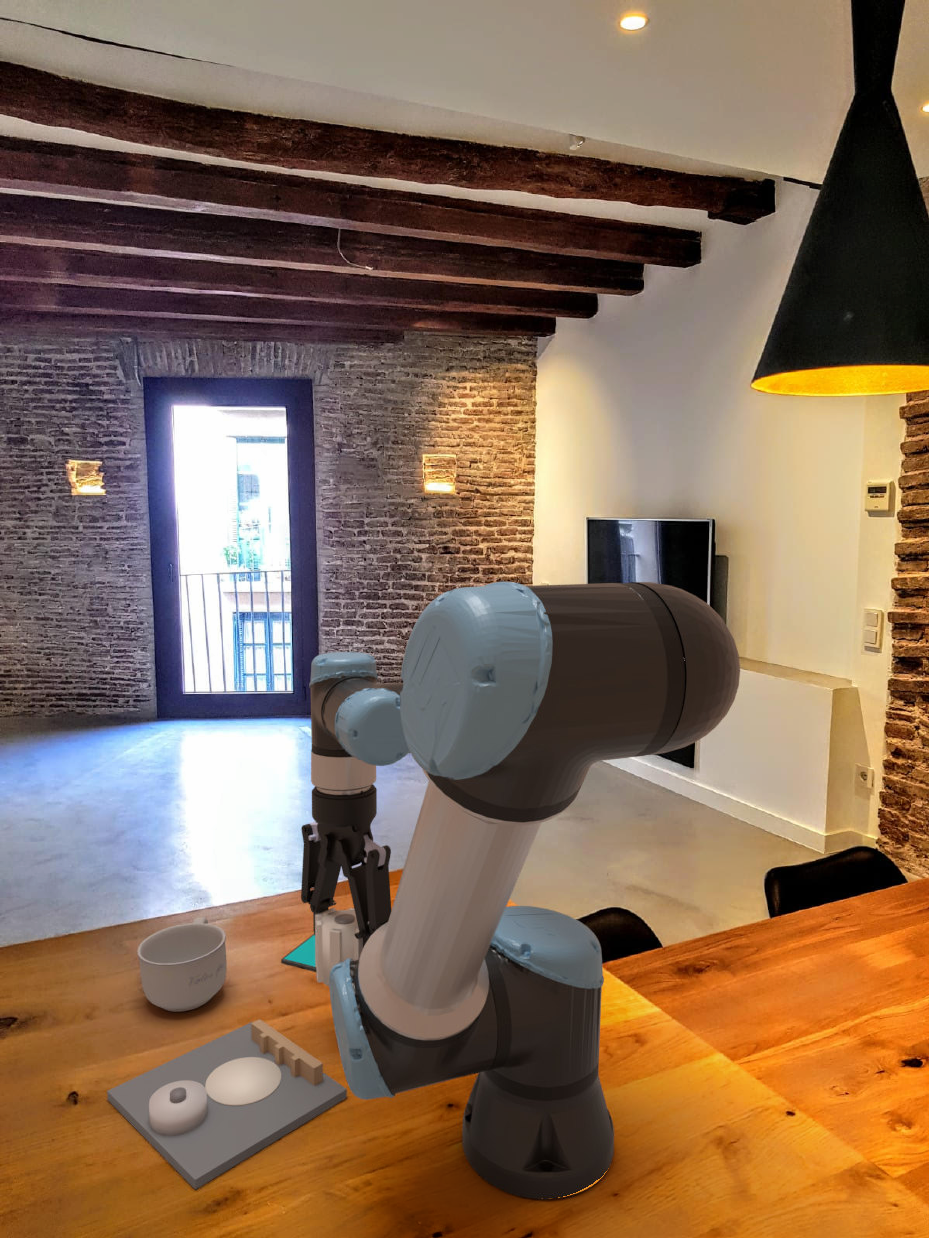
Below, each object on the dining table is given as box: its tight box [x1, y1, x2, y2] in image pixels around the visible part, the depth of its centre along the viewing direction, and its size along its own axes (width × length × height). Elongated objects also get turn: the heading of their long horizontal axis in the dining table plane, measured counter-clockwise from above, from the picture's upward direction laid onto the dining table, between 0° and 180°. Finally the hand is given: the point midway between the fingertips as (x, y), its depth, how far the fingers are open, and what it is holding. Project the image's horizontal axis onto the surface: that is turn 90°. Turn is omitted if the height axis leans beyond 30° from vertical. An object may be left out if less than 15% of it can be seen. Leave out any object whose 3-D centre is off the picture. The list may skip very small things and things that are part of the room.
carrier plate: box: [106, 1018, 348, 1190], centre depth 93 cm, size 18×18×4 cm
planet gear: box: [316, 907, 369, 987], centre depth 103 cm, size 7×6×7 cm
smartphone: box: [280, 933, 317, 973], centre depth 127 cm, size 7×1×15 cm
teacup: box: [136, 916, 228, 1013], centre depth 114 cm, size 14×11×8 cm
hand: (345, 973), depth 104 cm, fingers closed on planet gear, 7 cm apart
